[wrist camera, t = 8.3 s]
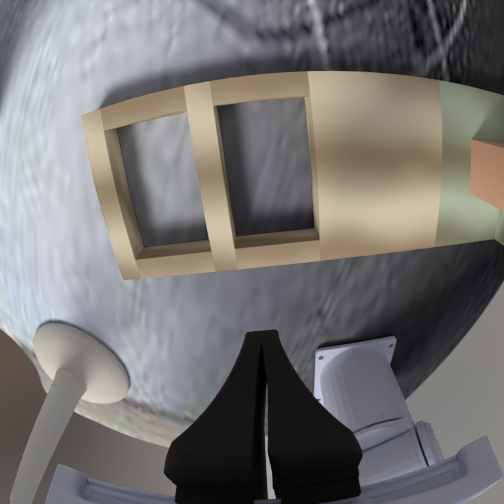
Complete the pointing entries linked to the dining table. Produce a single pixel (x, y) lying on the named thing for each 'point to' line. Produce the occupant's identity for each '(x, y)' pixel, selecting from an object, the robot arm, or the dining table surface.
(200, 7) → the dining table surface
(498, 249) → the dining table surface
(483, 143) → the terracotta block
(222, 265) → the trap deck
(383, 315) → the dining table surface
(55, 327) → the candlestick
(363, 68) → the dining table surface
